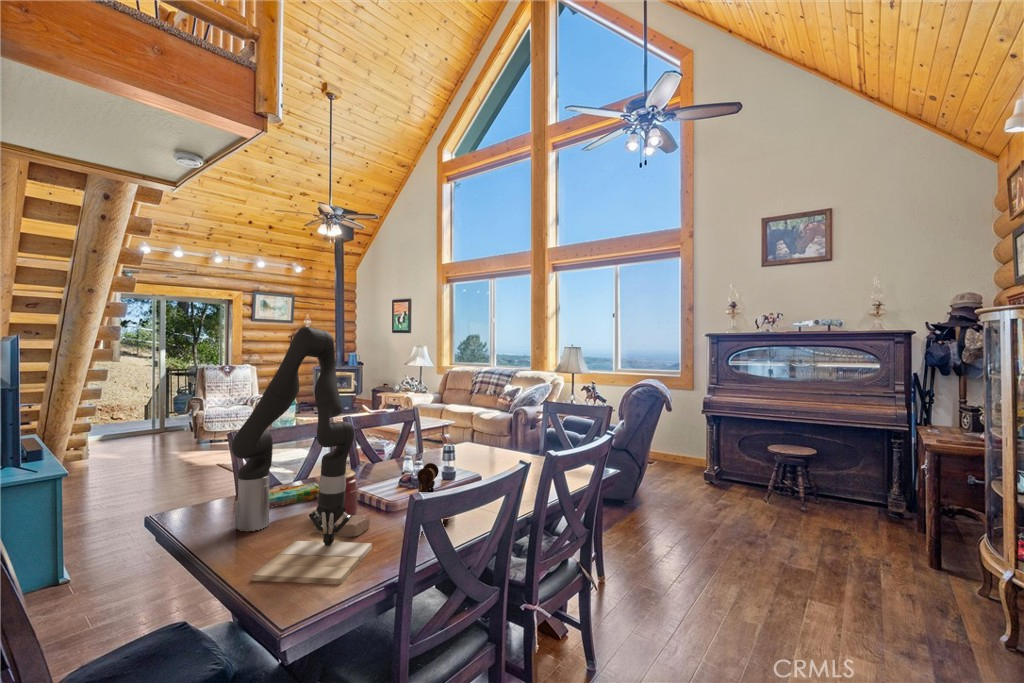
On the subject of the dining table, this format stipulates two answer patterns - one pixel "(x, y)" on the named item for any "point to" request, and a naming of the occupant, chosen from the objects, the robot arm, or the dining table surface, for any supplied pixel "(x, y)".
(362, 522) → the brick
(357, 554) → the ash plank
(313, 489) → the puzzle game
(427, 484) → the dark brown upright piece
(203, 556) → the dining table surface
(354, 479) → the canister
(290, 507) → the dining table surface
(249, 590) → the dining table surface
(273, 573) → the oak floor boards
